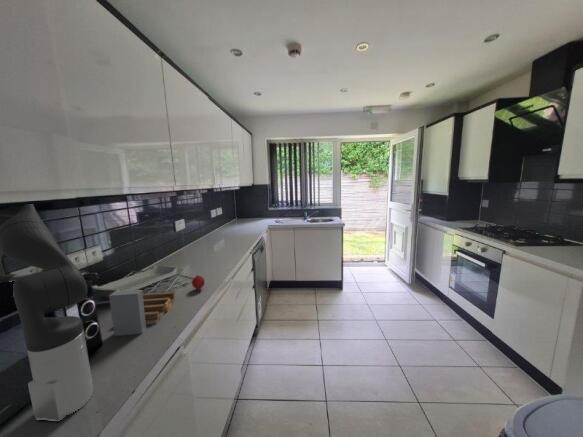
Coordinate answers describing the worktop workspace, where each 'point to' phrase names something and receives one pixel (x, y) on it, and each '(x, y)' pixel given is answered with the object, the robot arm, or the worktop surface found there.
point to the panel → (127, 312)
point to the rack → (157, 305)
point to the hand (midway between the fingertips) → (88, 281)
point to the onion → (198, 282)
